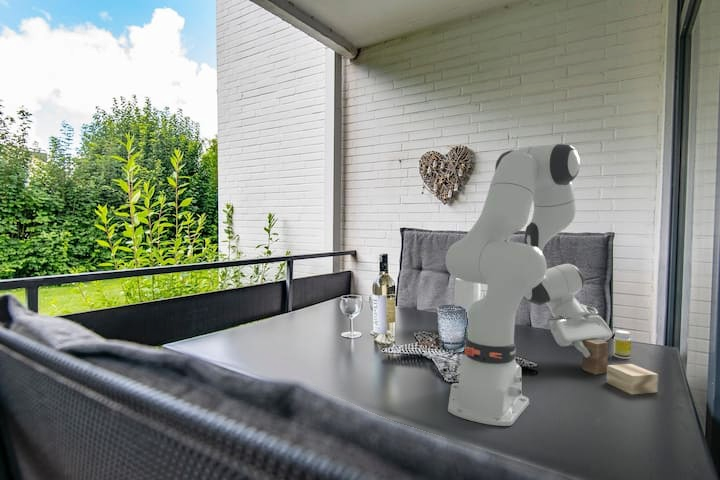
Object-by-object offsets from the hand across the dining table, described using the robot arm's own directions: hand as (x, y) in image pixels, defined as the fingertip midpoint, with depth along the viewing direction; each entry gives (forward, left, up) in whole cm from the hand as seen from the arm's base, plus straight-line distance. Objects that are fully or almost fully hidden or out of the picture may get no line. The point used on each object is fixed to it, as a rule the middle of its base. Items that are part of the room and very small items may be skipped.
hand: (597, 355), depth 118 cm
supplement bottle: (+20, -9, -5) cm, 23 cm away
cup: (+24, +43, -5) cm, 50 cm away
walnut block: (0, 0, -5) cm, 5 cm away
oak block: (-9, -8, -5) cm, 13 cm away
